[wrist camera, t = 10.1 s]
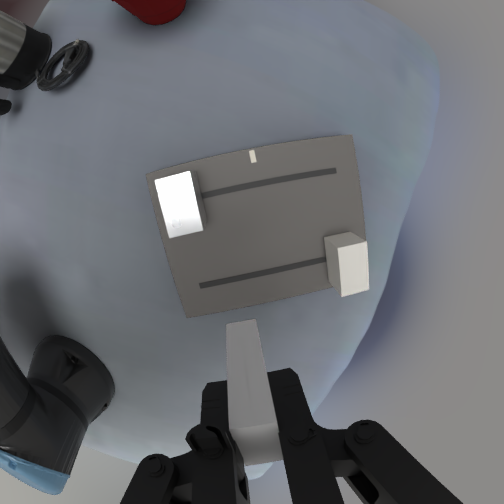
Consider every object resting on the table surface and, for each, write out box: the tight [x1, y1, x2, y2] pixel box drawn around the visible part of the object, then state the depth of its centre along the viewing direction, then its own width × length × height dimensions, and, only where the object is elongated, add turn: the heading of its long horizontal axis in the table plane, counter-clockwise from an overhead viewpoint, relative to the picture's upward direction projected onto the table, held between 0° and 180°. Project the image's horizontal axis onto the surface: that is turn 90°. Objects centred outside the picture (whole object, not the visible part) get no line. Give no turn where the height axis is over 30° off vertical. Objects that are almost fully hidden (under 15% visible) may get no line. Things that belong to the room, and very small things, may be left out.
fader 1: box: [155, 171, 207, 238], centre depth 24 cm, size 3×5×4 cm, turn 12°
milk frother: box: [0, 11, 89, 115], centre depth 14 cm, size 14×16×15 cm
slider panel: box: [146, 135, 366, 318], centre depth 29 cm, size 21×16×3 cm
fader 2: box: [324, 232, 369, 297], centre depth 27 cm, size 3×5×4 cm, turn 11°
